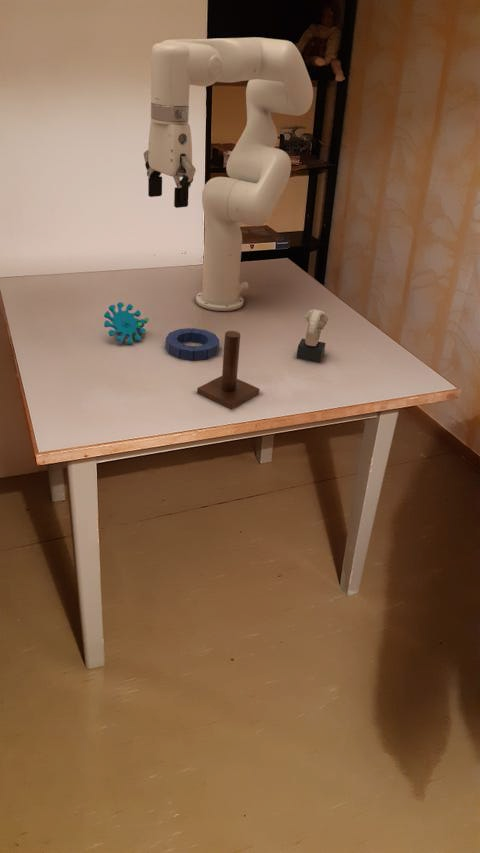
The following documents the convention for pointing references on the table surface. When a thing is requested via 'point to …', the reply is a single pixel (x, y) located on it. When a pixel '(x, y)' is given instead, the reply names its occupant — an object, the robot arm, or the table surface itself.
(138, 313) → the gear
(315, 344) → the ram head statue
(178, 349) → the ring
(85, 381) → the table surface
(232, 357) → the stand
